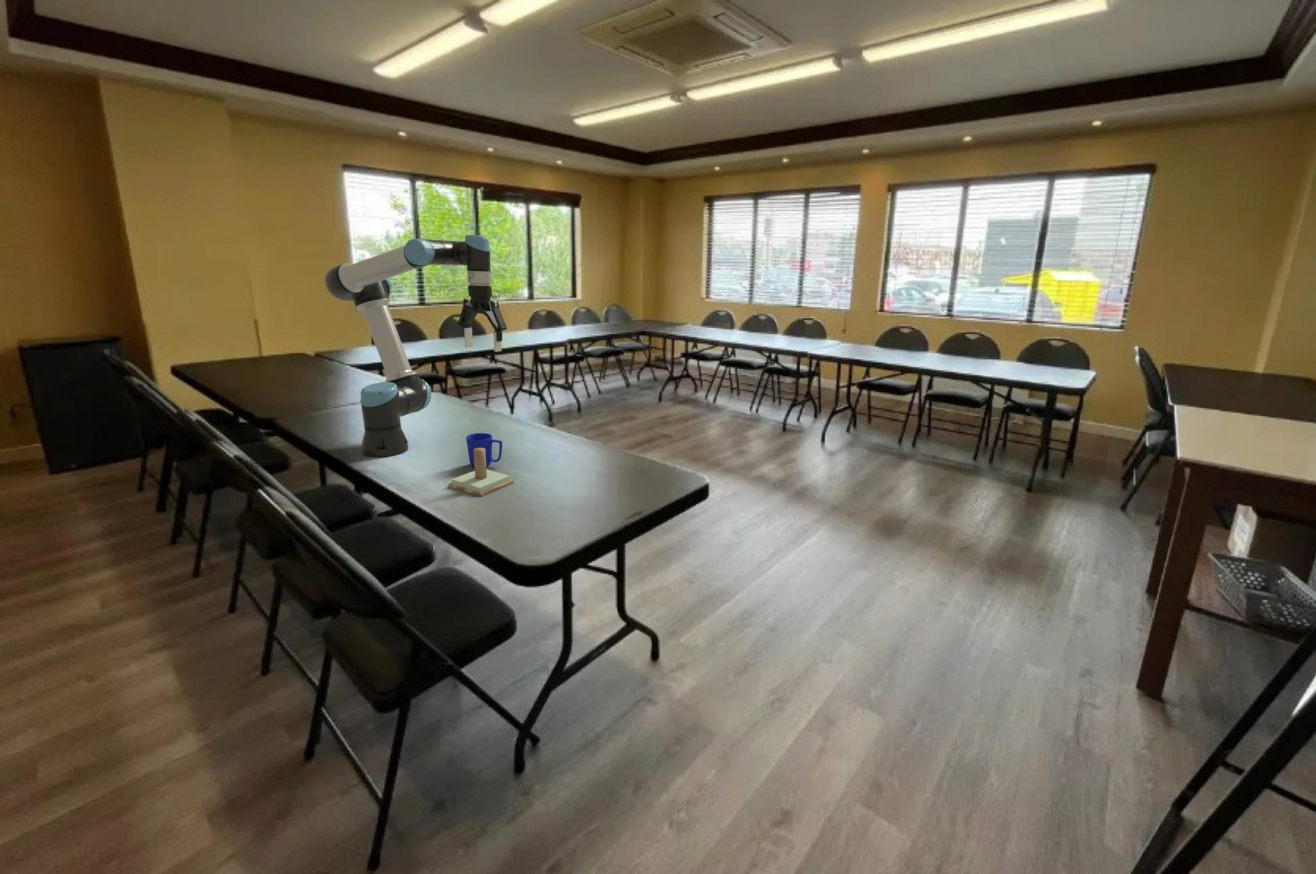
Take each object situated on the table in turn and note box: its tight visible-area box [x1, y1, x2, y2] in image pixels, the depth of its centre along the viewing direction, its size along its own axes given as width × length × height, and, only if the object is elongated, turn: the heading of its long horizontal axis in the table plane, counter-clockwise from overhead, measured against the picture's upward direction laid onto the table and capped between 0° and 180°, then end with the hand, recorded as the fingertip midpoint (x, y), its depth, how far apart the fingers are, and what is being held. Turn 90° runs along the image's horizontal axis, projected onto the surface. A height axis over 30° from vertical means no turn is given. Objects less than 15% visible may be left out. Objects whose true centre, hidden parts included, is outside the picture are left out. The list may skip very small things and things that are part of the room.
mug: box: [465, 432, 503, 468], centre depth 190 cm, size 8×12×10 cm
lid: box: [451, 448, 511, 493], centre depth 174 cm, size 12×12×10 cm
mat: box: [448, 479, 515, 497], centre depth 175 cm, size 14×13×1 cm
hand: (483, 349), depth 195 cm, fingers open, 13 cm apart
